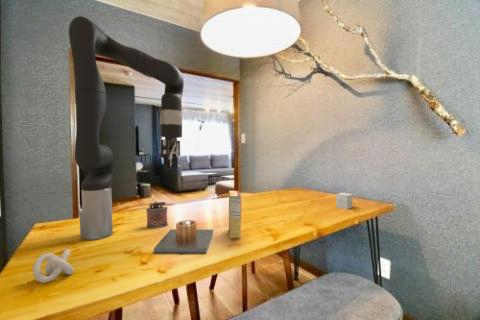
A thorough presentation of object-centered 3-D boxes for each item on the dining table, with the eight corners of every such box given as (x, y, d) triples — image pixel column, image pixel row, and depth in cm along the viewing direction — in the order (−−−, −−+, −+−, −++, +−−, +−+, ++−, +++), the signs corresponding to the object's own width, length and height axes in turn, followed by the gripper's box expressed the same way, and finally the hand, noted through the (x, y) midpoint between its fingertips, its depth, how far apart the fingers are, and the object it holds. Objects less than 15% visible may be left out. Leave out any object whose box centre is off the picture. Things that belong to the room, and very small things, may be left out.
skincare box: (341, 205, 127) (341, 192, 127) (352, 207, 122) (353, 194, 122) (335, 207, 123) (336, 193, 123) (347, 209, 119) (347, 195, 118)
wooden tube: (173, 241, 75) (173, 226, 74) (179, 234, 81) (179, 220, 81) (194, 241, 75) (194, 226, 74) (198, 234, 81) (198, 220, 81)
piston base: (154, 252, 70) (153, 230, 70) (170, 233, 86) (170, 214, 86) (206, 253, 70) (206, 230, 70) (213, 233, 86) (213, 215, 86)
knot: (84, 270, 60) (84, 248, 60) (53, 288, 53) (52, 263, 52) (62, 266, 62) (61, 245, 62) (28, 283, 55) (27, 259, 54)
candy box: (228, 229, 90) (228, 190, 89) (239, 229, 90) (239, 190, 90) (229, 238, 81) (229, 195, 80) (241, 238, 82) (241, 195, 81)
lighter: (146, 228, 92) (145, 203, 91) (147, 225, 95) (146, 201, 94) (167, 226, 94) (167, 202, 93) (167, 223, 97) (167, 200, 96)
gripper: (167, 125, 90) (167, 167, 91) (152, 121, 76) (152, 170, 76) (186, 126, 90) (186, 167, 90) (175, 121, 75) (175, 171, 76)
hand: (170, 168), depth 83 cm, fingers open, 8 cm apart
